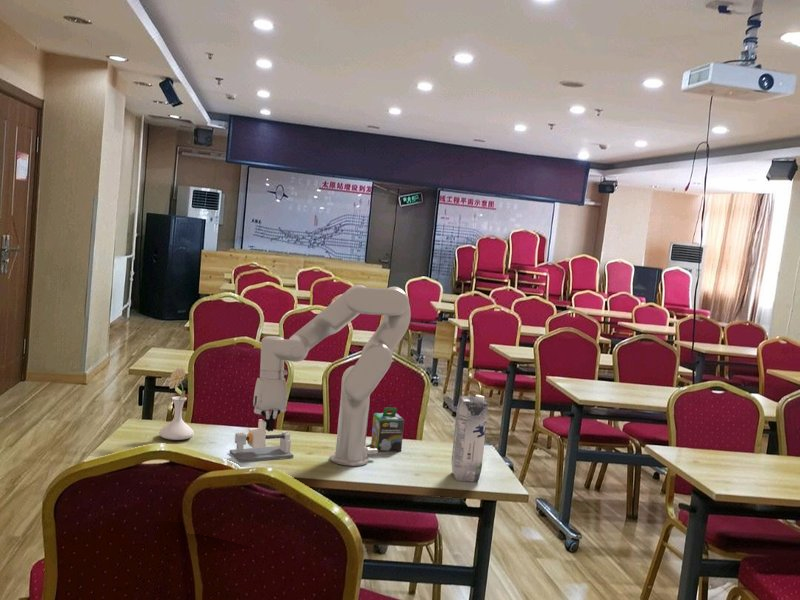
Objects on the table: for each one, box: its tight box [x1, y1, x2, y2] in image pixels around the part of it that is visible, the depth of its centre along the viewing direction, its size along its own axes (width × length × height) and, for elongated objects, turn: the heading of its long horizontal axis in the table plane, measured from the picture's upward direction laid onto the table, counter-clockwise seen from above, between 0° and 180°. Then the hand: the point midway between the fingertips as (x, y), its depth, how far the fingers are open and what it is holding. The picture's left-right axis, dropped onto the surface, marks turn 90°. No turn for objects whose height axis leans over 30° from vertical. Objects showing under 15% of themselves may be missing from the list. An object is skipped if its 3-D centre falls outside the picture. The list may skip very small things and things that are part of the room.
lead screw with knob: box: [246, 433, 285, 443], centre depth 238 cm, size 16×3×3 cm, turn 122°
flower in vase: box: [158, 366, 195, 441], centre depth 246 cm, size 13×11×25 cm
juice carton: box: [451, 394, 489, 483], centre depth 235 cm, size 9×10×27 cm
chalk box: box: [370, 407, 405, 452], centre depth 260 cm, size 9×9×15 cm
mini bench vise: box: [229, 431, 294, 463], centre depth 238 cm, size 18×10×7 cm, turn 122°
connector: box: [234, 432, 247, 455], centre depth 234 cm, size 3×3×6 cm
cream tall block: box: [246, 418, 267, 448], centre depth 236 cm, size 4×5×8 cm
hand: (269, 430), depth 239 cm, fingers closed
